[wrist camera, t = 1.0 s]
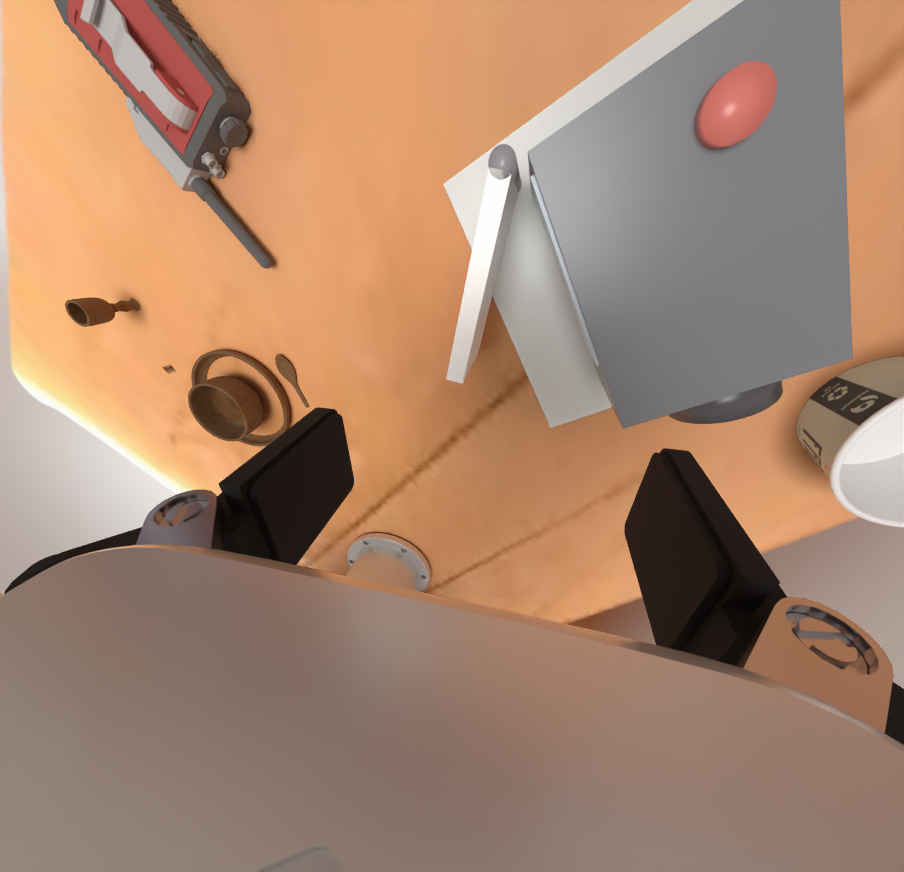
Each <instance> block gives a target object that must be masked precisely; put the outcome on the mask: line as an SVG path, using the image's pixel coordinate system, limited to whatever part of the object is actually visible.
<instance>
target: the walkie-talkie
mask: <svg viewBox="0 0 904 872" xmlns="http://www.w3.org/2000/svg"><path fill="white" fill-rule="evenodd" d="M54 2H55V4H56V6H57V8H58V10H59V12H60V14H61V16H62V19H63V21H64V23H65V24H66V25H68V27H69V28H70V30H71V31H72V32H73V33H74V34H75V35H76V36H77V38H78V39H79V41H81V42H82V43H83V44H84V46H85V48H86V49H87V50H89V51H90V52H91V54H92V56H93V57H94V58H96V59H97V61H98V62H99V64H100V65H101V66H103V68H104V69H105V71H106V72H107V73H108V74H109V75H110V76H111V77H112V79H113V80H114V82H116V83H117V84H118V85H119V88H120V89H121V90H123V92H124V94H125V95H126V96H127V97H126V100H125V102H126V104H127V106H128V109H129V112H130V114H131V117H132V119H133V122H134V125H135V127H136V130H137V133H138V135H139V138H140V139H141V141H142V142H143V143H144V145H145V146H146V147H147V148H148V149H149V150H150V151H151V153H152V154H153V155H154V156H155V157H156V158H157V160H158V161H159V162H160V163H161V164H162V165H163V166H164V168H165V169H166V170H167V171H168V172H169V173H170V174H171V176H172V177H173V179H174V181H175V183H176V184H177V185H178V186H179V187H180V188H181V189H182V190H184V191H191V192H196V193H197V194H198V196H199V197H200V198H201V199H202V200H203V201H206V202H207V204H208V205H209V206H210V207H211V208H212V209H213V210H214V212H215V213H216V214H217V215H218V216H219V217H220V219H221V220H222V221H223V222H224V223H225V224H226V226H227V227H228V228H229V229H230V230H231V231H232V233H233V234H234V235H235V236H236V237H237V238H238V239H239V241H240V242H241V243H242V244H243V245H244V246H245V248H246V249H247V250H248V251H249V252H250V253H251V255H252V256H253V257H254V258H255V259H256V260H257V262H258V263H259V264H260V265H261V266H262V267H263V268H270V267H271V265H272V261H271V259H270V258H269V257H268V256H267V254H266V253H265V252H264V251H263V250H262V248H261V247H260V246H259V245H258V244H257V243H256V241H255V240H254V239H253V238H252V237H251V236H250V234H249V233H248V232H247V231H246V230H245V228H244V227H243V226H242V225H241V224H240V223H239V221H238V220H237V219H236V218H235V217H234V216H233V214H232V213H231V212H230V211H229V210H228V208H227V207H226V206H225V205H224V204H223V203H222V201H221V200H220V199H219V198H218V197H217V196H216V192H215V190H214V189H213V188H212V187H211V186H210V185H209V184H208V182H207V181H208V179H209V177H210V175H211V174H213V175H214V176H215V177H216V178H218V179H220V178H222V177H224V175H225V172H224V171H223V169H222V165H223V163H224V161H225V159H226V158H227V156H228V154H229V152H230V150H231V148H232V147H238V146H240V145H242V144H243V143H244V142H245V141H246V139H247V136H248V129H247V126H246V125H245V123H246V121H247V119H248V117H249V116H250V114H251V108H250V104H249V102H248V101H247V99H246V98H245V97H244V95H243V94H242V93H241V91H240V90H239V89H238V87H237V86H236V85H235V83H234V82H233V81H232V79H231V78H230V77H229V75H228V74H227V73H226V71H225V70H224V69H223V67H222V66H221V65H220V63H219V62H218V61H217V59H216V58H215V57H214V56H213V54H212V53H211V52H210V50H209V49H208V48H207V46H206V45H205V44H204V42H203V41H202V40H201V39H199V38H198V36H197V33H196V32H195V31H193V30H192V29H191V25H190V24H189V23H188V22H186V21H185V17H184V16H183V15H182V14H181V13H179V11H178V8H177V6H175V5H174V4H173V3H172V0H54Z"/></svg>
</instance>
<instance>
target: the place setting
mask: <svg viewBox="0 0 904 872" xmlns="http://www.w3.org/2000/svg"><path fill="white" fill-rule="evenodd" d="M65 307H66V310H67V312H68V314H69V316H70V317H71V318H72V319H73V320H74V321H75V322H76V323H77V324H79V325H81V326H84V327H86V326H93V325H98V324H102V323H106V322H109V321H111V320H112V319H113V318H114V316H115V312H118V311H125V312H128V311H130V310H131V309H132V308H134V309H135V310H140V304H139V303H138V301H136V300H135V299H130V302H127V301H119V302H118V303H116V304H109V303H108V302H107V301H105V300H103V299H100V298H80V299H73V300H68V301H66V303H65ZM225 356H233V357H236V358H239V359H241V360H243V361H245V362H246V363H248V364H249V365H251V366H252V367H254V368H255V369H256V370H258V371H259V372H260V373H261V374H262V375H263V376H264V377H265V378H266V379H267V381H268V382H269V383H270V384H271V386H272V387H273V389H274V390H275V392H276V393H277V395H278V397H279V399H280V402H281V405H282V408H283V413H284V424H283V426H282V428H281V429H280V430H279V431H278V432H276V433H274V434H272V435H267V436H260V435H254V434H251V432H252V431H253V430H255V429H256V428H257V427H258V426H259V425H260V423H261V421H262V418H263V407H262V403H261V400H260V397H259V396H258V394H257V393H256V391H255V390H254V389H253V388H251V387H250V386H248V385H247V384H246V383H244V382H242V381H240V380H238V379H236V378H233V377H227V376H220V377H215V378H212V379H209V380H207V374H208V370H209V367H210V366H211V364H212V363H213V362H214V361H215V360H217V359H218V358H221V357H225ZM275 360H276V365H277V368H278V370H279V372H280V373H281V374H282V375H283V376H284V377H285V378H286V379H287V380H288V381H289V382H290V383H291V384H292V385H293V386H294V388H295V389H296V391H297V393H298V394H299V396H300V398H301V400H302V401H303V403H304V405H305V407H306V408H307V407H309V404H308V402H307V400H306V399H305V397H304V395H303V394H302V392H301V390H300V389H299V387H298V385H297V376H296V372H295V370H294V368H293V366H292V365H291V363H290V362H289V361H288V360H287V359H286V358H285V357H283V356H282V355H276V358H275ZM166 366H167V365H166ZM169 366H170V365H169ZM167 367H168V366H167ZM167 367H165V368H166V369H167V370H168V371H169V372H170V373H171V371H172V372H173V370H174V369H173V368H172V367H171V366H170V367H171V368H172V369H173V370H172V369H171V368H169V367H168V368H169V369H170V370H171V371H170V370H169V369H168V368H167ZM163 368H164V367H163ZM165 368H164V369H165ZM166 369H165V370H166ZM167 370H166V371H167ZM168 371H167V372H168ZM174 371H175V370H174ZM169 372H168V373H169ZM175 372H176V371H175ZM173 373H174V372H173ZM192 386H193V387H192V388H191V390H190V391H189V395H188V402H189V407H190V410H191V412H192V414H193V416H194V417H195V419H196V420H197V422H198V423H199V424H200V425H201V426H202V427H203V428H204V429H205V430H206V431H208V432H209V433H210V434H212V435H213V436H215V437H217V438H219V439H222V440H226V441H240V442H242V443H245V444H249V445H253V446H267V445H269V444H270V443H271V442H273V441H274V440H275V439H277V438H278V437H279V436H280V435H282V434H283V433H284V432H285V431H286V430H287V428H288V426H289V421H290V408H289V404H288V400H287V397H286V395H285V393H284V391H283V389H282V387H281V385H280V384H279V382H278V381H277V380H276V378H275V377H274V376H273V375H272V374H271V373H270V372H269V371H268V370H267V369H266V368H265V367H264V366H263V365H261V364H260V363H259V362H257V361H256V360H254V359H252V358H250V357H248V356H246V355H244V354H241V353H239V352H235V351H229V350H216V351H212V352H208V353H206V354H204V355H202V356H201V357H199V358H198V360H197V361H196V362H195V364H194V366H193V370H192Z"/></svg>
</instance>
